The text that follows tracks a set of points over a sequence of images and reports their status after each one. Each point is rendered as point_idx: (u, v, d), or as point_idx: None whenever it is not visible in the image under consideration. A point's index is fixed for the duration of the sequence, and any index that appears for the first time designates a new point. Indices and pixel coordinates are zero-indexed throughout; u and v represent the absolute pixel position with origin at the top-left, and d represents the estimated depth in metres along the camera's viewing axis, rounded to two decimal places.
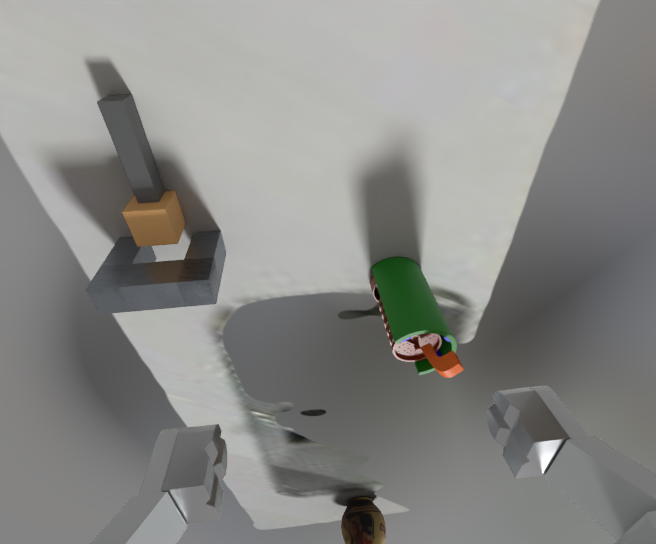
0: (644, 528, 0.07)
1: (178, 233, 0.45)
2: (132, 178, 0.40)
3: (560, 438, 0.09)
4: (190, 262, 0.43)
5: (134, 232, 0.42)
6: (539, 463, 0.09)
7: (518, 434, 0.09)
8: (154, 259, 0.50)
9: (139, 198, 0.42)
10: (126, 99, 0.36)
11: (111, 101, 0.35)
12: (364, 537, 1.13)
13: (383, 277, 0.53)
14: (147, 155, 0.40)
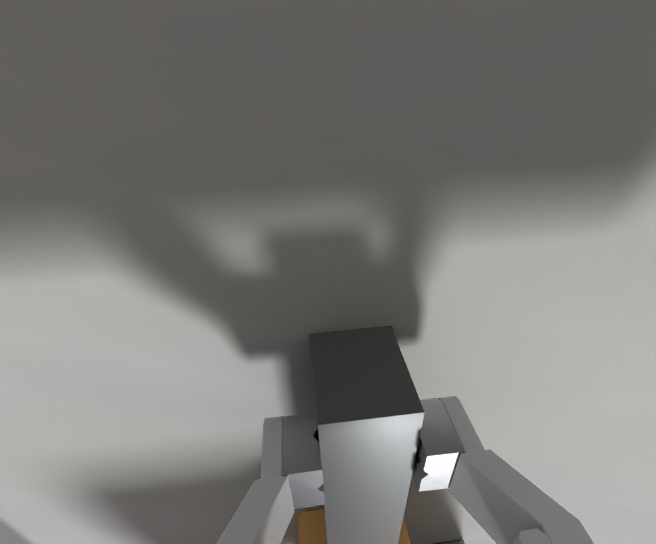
0: None
1: None
2: None
3: (455, 451, 0.08)
4: None
5: None
6: (439, 476, 0.09)
7: (418, 446, 0.09)
8: None
9: None
10: (409, 376, 0.09)
11: (375, 414, 0.08)
12: None
13: None
14: None
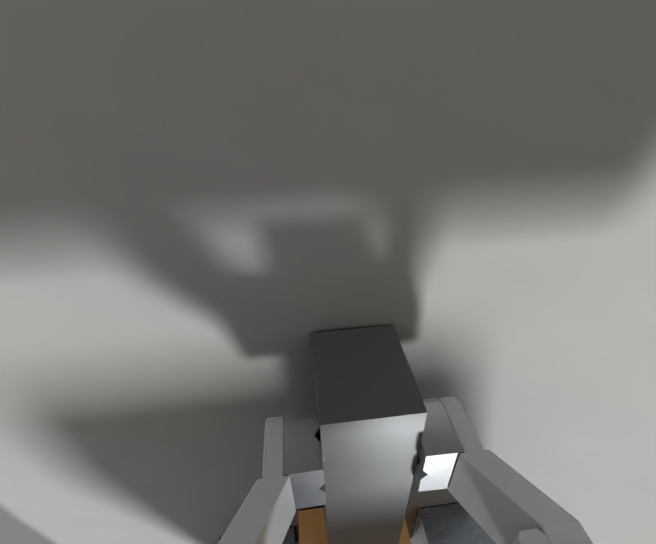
0: None
1: None
2: None
3: (454, 452, 0.08)
4: None
5: None
6: (439, 476, 0.09)
7: None
8: None
9: None
10: (411, 376, 0.09)
11: (378, 414, 0.08)
12: None
13: None
14: None
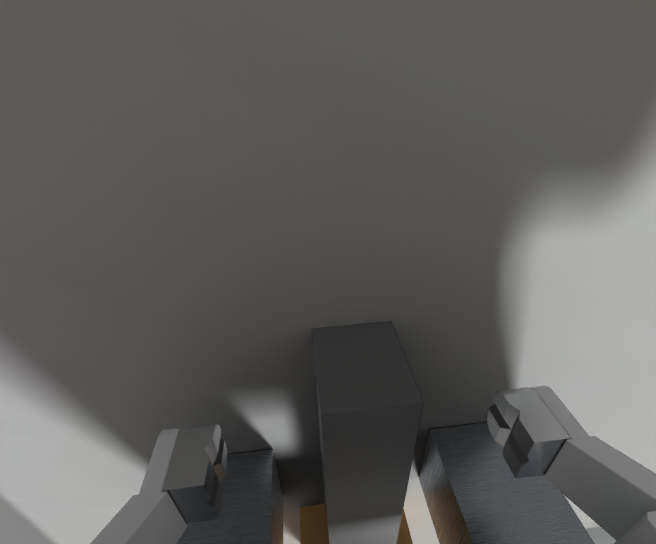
0: (644, 528, 0.07)
1: None
2: None
3: (560, 438, 0.09)
4: None
5: None
6: (539, 463, 0.09)
7: (518, 434, 0.09)
8: (282, 507, 0.15)
9: None
10: None
11: (376, 404, 0.08)
12: None
13: None
14: None
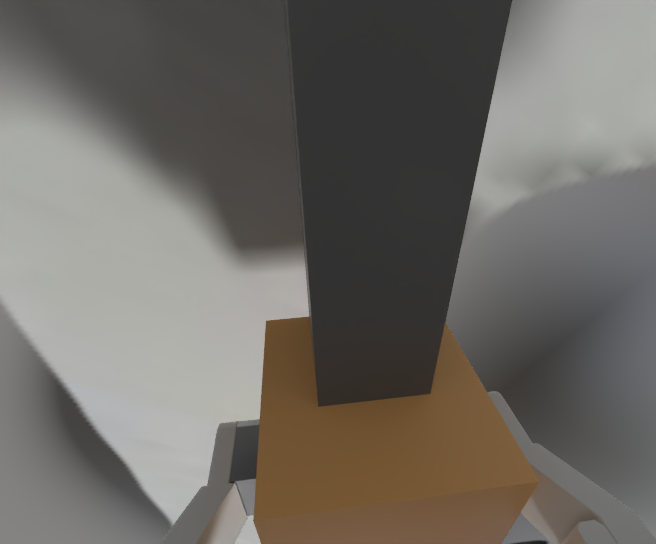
0: (575, 538, 0.07)
1: None
2: (338, 283, 0.06)
3: None
4: None
5: None
6: None
7: None
8: None
9: (333, 384, 0.07)
10: None
11: None
12: None
13: None
14: None
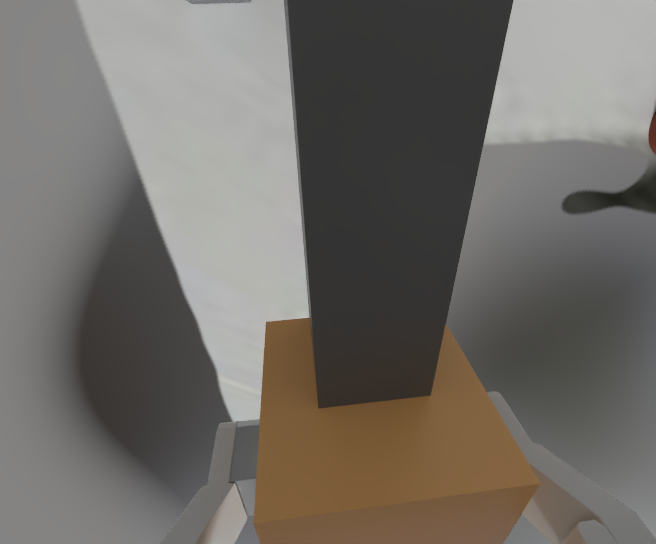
0: (575, 538, 0.07)
1: None
2: (339, 285, 0.06)
3: None
4: None
5: None
6: None
7: None
8: None
9: (333, 386, 0.07)
10: None
11: None
12: None
13: None
14: None
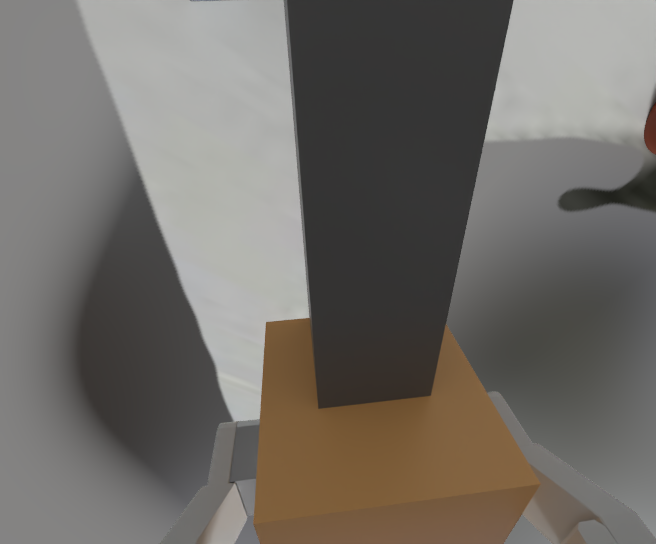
0: (575, 538, 0.07)
1: None
2: (339, 286, 0.06)
3: None
4: None
5: None
6: None
7: None
8: None
9: (333, 386, 0.07)
10: None
11: None
12: None
13: None
14: None
